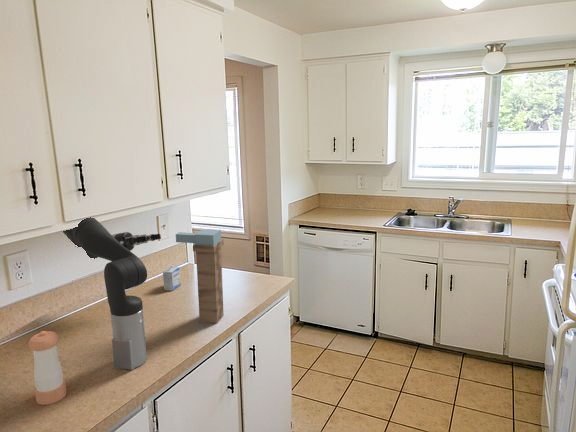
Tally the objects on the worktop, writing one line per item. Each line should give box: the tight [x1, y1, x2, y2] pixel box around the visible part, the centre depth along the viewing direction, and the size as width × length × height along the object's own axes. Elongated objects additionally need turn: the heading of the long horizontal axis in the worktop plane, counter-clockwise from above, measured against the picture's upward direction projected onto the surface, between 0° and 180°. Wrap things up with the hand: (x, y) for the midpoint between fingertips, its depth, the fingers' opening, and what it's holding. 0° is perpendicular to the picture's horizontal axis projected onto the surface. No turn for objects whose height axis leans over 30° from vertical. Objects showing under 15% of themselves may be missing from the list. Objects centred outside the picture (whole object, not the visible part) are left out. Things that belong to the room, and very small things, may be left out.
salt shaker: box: [28, 330, 67, 406], centre depth 113 cm, size 7×7×19 cm
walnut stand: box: [192, 239, 225, 324], centre depth 158 cm, size 10×8×30 cm
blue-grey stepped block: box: [175, 228, 222, 246], centre depth 155 cm, size 8×16×4 cm, turn 79°
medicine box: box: [162, 266, 182, 292], centre depth 192 cm, size 8×4×9 cm, turn 168°
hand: (153, 237), depth 162 cm, fingers open, 8 cm apart
